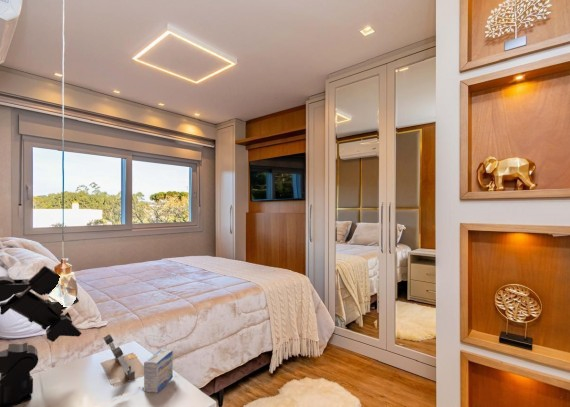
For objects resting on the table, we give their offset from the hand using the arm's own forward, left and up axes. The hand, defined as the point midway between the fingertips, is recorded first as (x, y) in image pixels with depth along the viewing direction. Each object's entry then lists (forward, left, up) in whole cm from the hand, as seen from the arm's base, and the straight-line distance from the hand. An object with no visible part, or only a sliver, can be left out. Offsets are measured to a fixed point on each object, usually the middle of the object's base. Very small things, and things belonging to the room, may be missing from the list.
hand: (80, 334), depth 91 cm
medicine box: (+15, -22, -14) cm, 30 cm away
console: (+10, -7, -14) cm, 19 cm away
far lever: (+11, -1, -12) cm, 16 cm away
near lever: (+10, -13, -12) cm, 20 cm away
